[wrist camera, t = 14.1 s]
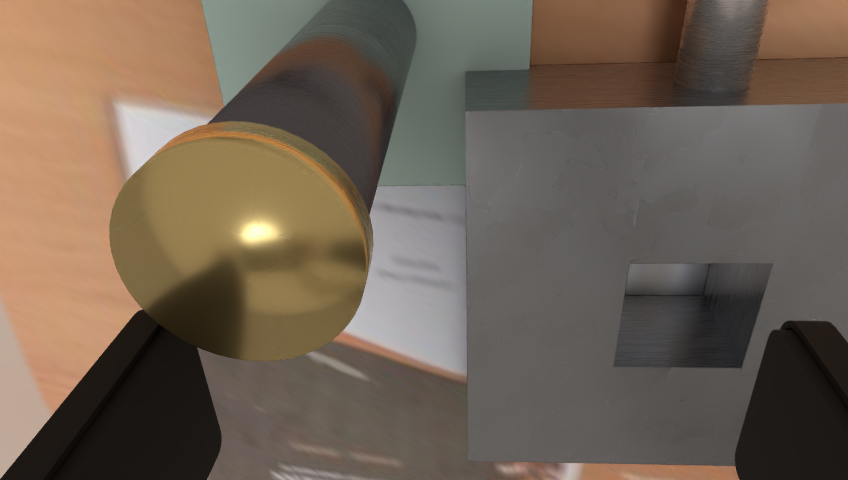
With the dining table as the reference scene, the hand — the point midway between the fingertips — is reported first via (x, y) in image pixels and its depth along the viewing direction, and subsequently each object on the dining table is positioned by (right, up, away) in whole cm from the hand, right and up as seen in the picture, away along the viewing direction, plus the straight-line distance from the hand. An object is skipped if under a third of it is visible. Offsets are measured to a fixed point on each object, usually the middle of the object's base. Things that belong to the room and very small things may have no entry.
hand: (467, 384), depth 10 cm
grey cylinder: (-2, +9, +9) cm, 13 cm away
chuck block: (+8, +5, +11) cm, 14 cm away
